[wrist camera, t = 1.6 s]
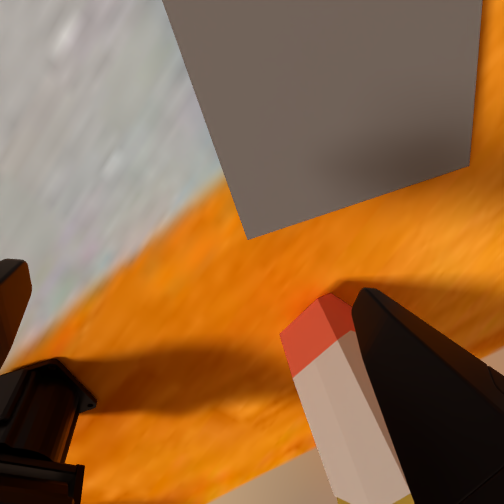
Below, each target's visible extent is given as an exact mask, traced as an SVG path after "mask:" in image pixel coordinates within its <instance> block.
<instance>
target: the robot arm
mask: <svg viewBox="0 0 504 504" xmlns="http://www.w3.org/2000/svg"><path fill="white" fill-rule="evenodd" d="M31 292H32V285H31V280H30V274H29V269H28V264H27V262H26V261H24V260H19V259H4V260H2V261H0V369H1V367H2V365H3V363H4V361H5V359H6V357H7V355H8V353H9V351H10V349H11V347H12V344H13V342H14V339H15V336H16V334H17V331H18V328H19V326H20V323H21V320H22V318H23V315H24V312H25V310H26V307H27V304H28V302H29V299H30V296H31ZM351 315H352V319H353V324H354V328H355V332H356V336H357V340H358V344H359V348H360V352H361V356H362V359H363V362H364V365H365V368H366V371H367V374H368V377H369V379H370V382H371V385H372V388H373V391H374V393H375V396H376V399H377V402H378V404H379V407H380V410H381V413H382V415H383V418H384V421H385V424H386V426H387V429H388V432H389V435H390V438H391V440H392V443H393V446H394V449H395V451H396V454H397V457H398V460H399V462H400V465H401V468H402V471H403V473H404V476H405V479H406V482H407V485H408V487H409V490H410V493H411V496H412V498H413V501H414V504H504V376H503V375H502V374H500V373H499V372H497V371H496V370H494V369H493V368H491V367H490V366H487V364H485V363H484V362H483V361H481V360H480V359H478V358H477V357H475V356H474V355H472V354H471V353H469V352H468V351H467V350H465V349H464V348H462V347H461V346H459V345H458V344H456V343H455V342H453V341H452V340H451V339H449V338H448V337H446V336H445V335H443V334H442V333H440V332H439V331H437V330H436V329H435V328H433V327H432V326H430V325H429V324H427V323H426V322H424V321H423V320H421V319H420V318H419V317H417V316H416V315H414V314H413V313H411V312H410V311H408V310H407V309H405V308H404V307H402V306H401V305H400V304H398V303H397V302H395V301H394V300H392V299H391V298H389V297H388V296H386V295H385V294H384V293H382V292H381V291H379V290H378V289H375V288H362V289H361V290H360V292H359V294H358V296H357V298H356V300H355V302H354V305H353V307H352V310H351ZM96 405H97V399H96V398H95V397H94V396H93V395H92V394H91V393H90V392H89V391H88V390H87V389H86V388H85V387H84V386H83V385H82V384H81V383H80V382H79V381H78V380H77V379H76V378H75V377H74V376H73V375H72V374H71V373H70V372H69V371H68V370H67V369H66V368H65V367H64V366H63V365H62V364H61V363H60V362H59V361H58V360H55V359H51V360H48V361H45V362H42V363H39V364H35V365H32V366H29V367H26V368H23V369H20V370H17V371H14V372H11V373H8V374H5V375H2V376H0V504H80V503H81V494H82V486H83V477H84V469H85V465H79V464H77V465H71V464H65V460H66V457H67V453H68V450H69V446H70V443H71V440H72V436H73V433H74V429H75V426H76V422H77V419H78V416H79V413H81V412H84V411H87V410H90V409H93V408H95V407H96Z"/></svg>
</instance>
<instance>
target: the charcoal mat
mask: <svg viewBox="0 0 504 504" xmlns="http://www.w3.org/2000/svg"><path fill="white" fill-rule="evenodd" d="M162 1H163V4H164V7H165V10H166V12H167V15H168V18H169V21H170V24H171V26H172V29H173V32H174V35H175V38H176V40H177V43H178V46H179V49H180V52H181V54H182V57H183V60H184V63H185V66H186V68H187V71H188V74H189V77H190V80H191V82H192V85H193V88H194V91H195V94H196V96H197V99H198V102H199V105H200V108H201V110H202V113H203V116H204V119H205V122H206V124H207V127H208V130H209V133H210V136H211V138H212V141H213V144H214V147H215V150H216V153H217V155H218V158H219V161H220V164H221V167H222V169H223V172H224V175H225V178H226V181H227V183H228V186H229V189H230V192H231V195H232V197H233V200H234V203H235V206H236V209H237V211H238V214H239V217H240V220H241V223H242V225H243V228H244V231H245V234H246V237H247V239H248V240H249V239H252V238H255V237H258V236H261V235H264V234H267V233H270V232H273V231H276V230H279V229H282V228H285V227H288V226H291V225H294V224H297V223H300V222H303V221H306V220H309V219H312V218H315V217H318V216H321V215H324V214H327V213H330V212H333V211H336V210H339V209H342V208H345V207H348V206H351V205H354V204H357V203H360V202H363V201H365V200H368V199H371V198H374V197H377V196H380V195H383V194H386V193H389V192H392V191H395V190H398V189H401V188H404V187H407V186H410V185H413V184H416V183H419V182H422V181H425V180H428V179H431V178H434V177H437V176H440V175H443V174H446V173H449V172H452V171H455V170H458V169H461V168H464V167H467V166H469V163H470V150H471V138H472V125H473V113H474V100H475V88H476V75H477V63H478V50H479V38H480V25H481V13H482V0H162Z"/></svg>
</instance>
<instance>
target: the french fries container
mask: <svg viewBox="0 0 504 504" xmlns="http://www.w3.org/2000/svg"><path fill="white" fill-rule="evenodd" d="M351 310H352V307H351V306H350V305H348V304H347V303H345V302H344V301H342V300H341V299H339V298H337V297H336V296H334V295H333V294H331V293H329V294H327V295H325V296H322V297H320V298H318V299H316V300H315V301H314V302H313V303H312V304H311V305H310V306H309V307H308V308H307V309H306V310H305V311H304V312H303V313H301V314H300V315H299V316H298V317H297V318H296V319H295V320H294V321H293V322H292V323H291V324H290V325H289V326H288V327H287V328H285V329H284V330H283V331H282V332H281V333H280V337H281V341H282V344H283V347H284V351H285V354H286V358H287V361H288V364H289V368H290V371H291V374H292V378H293V381H294V383H295V386H296V389H297V392H298V395H299V398H300V400H301V403H302V406H303V409H304V412H305V415H306V417H307V420H308V423H309V426H310V429H311V432H312V434H313V437H314V440H315V443H316V446H317V448H318V451H319V454H320V457H321V459H322V463H323V465H324V468H325V471H326V474H327V477H328V480H329V482H330V485H331V488H332V491H333V494H334V496H336V497H337V501H338V504H414V501H413V498H412V496H411V493H410V490H409V487H408V485H407V482H406V479H405V476H404V473H403V471H402V468H401V465H400V462H399V460H398V457H397V454H396V451H395V449H394V446H393V443H392V440H391V438H390V435H389V432H388V429H387V426H386V424H385V421H384V418H383V415H382V413H381V410H380V407H379V404H378V402H377V399H376V396H375V393H374V391H373V388H372V385H371V382H370V379H369V377H368V374H367V371H366V368H365V365H364V362H363V359H362V356H361V352H360V348H359V344H358V340H357V336H356V332H355V328H354V324H353V319H352V315H351Z"/></svg>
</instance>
